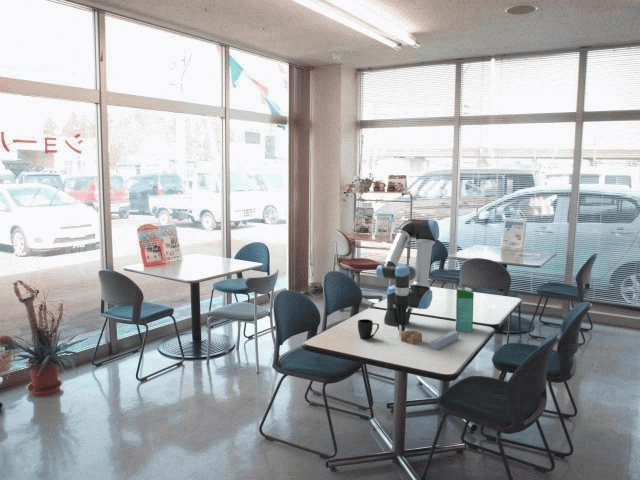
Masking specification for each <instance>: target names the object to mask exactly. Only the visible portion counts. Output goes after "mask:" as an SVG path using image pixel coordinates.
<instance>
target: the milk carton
mask: <svg viewBox="0 0 640 480" xmlns="http://www.w3.org/2000/svg"><path fill="white" fill-rule="evenodd" d="M474 295H475V294H474V291H473V289H472V288H469V287H462V286H459V285H456V294H455V296H456V297H455V299H456V301H455V303H456V304H455V331H457V332H462V333H463V332H464V333H465V332H466V333H473V326H474V323H473V321H474V320H473V318H474V297H475V296H474Z"/></svg>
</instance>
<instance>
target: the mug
mask: <svg viewBox="0 0 640 480" xmlns="http://www.w3.org/2000/svg"><path fill="white" fill-rule="evenodd" d="M373 325H376V326H377V327H376V329H375V332H374V333H373V334H372V332H373ZM379 327H380V324H379V323H376V322H375V323H374V322H373V320H371V319H368V318H367V319H366V318H365V319H364V318H363V319H359V320H357V330H358V331H357V332H358V335H359V338H360V339H361V340H370V339H372V338H374V336H375V335H376V333H377V332H378V330H379Z"/></svg>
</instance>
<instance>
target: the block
mask: <svg viewBox="0 0 640 480" xmlns="http://www.w3.org/2000/svg"><path fill="white" fill-rule="evenodd" d="M400 341H401V342H403V343H406V344H410V345H415V344H418V343H421V342H423V332H421V331H418V330H413V329H408V330H405V331H404V332H401V337H400Z"/></svg>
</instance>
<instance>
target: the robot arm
mask: <svg viewBox="0 0 640 480" xmlns="http://www.w3.org/2000/svg"><path fill="white" fill-rule="evenodd" d="M439 238H440V227H439V223H438V221H436V220H435V219H434V220H433V219H418V218H417V219H416V218H412V219H408V220H406V221H404V222H403V223H402V224H400V225H399V226H398V228H397V229H396V231H395V233H394V239H393V242H392V243H391V246H390V248H389V251H388V253H387V255H386V258H385V259H384V262H383V264H379V265H377V267H376V269H375V270H376V271H375V274H376V277H377V278H379V279H387V280H394V281H395V282H394V284H392V285H390V286H388V287H387V293H386V313H385V315H384V317H383V322H384V324H385V325H389V326H395V327H397V330H398V337H399V338H401V332H404V331H406V326H408V325H409V324H410V319H411V313H412V311H413V310H414V309H417V310H427V309H428V308H429V307H430V306H431V303H432V300H433V291H432V289H431V286H430V285H429V277H430V276H429V275H430V270H431V269H430V266H431V259H432V251H433V245H434V244H436V240H439ZM411 239H415V242H416V243H417V248H416V256H415V257H416V258H415V265H414V266H412V265H410V266H407V265H398V264H399V261H400V259H401V257H402V255H403V251H404V250H405V248H406V245H407V243H408V242H410V240H411ZM410 281H412V283H411V284H410Z"/></svg>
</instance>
